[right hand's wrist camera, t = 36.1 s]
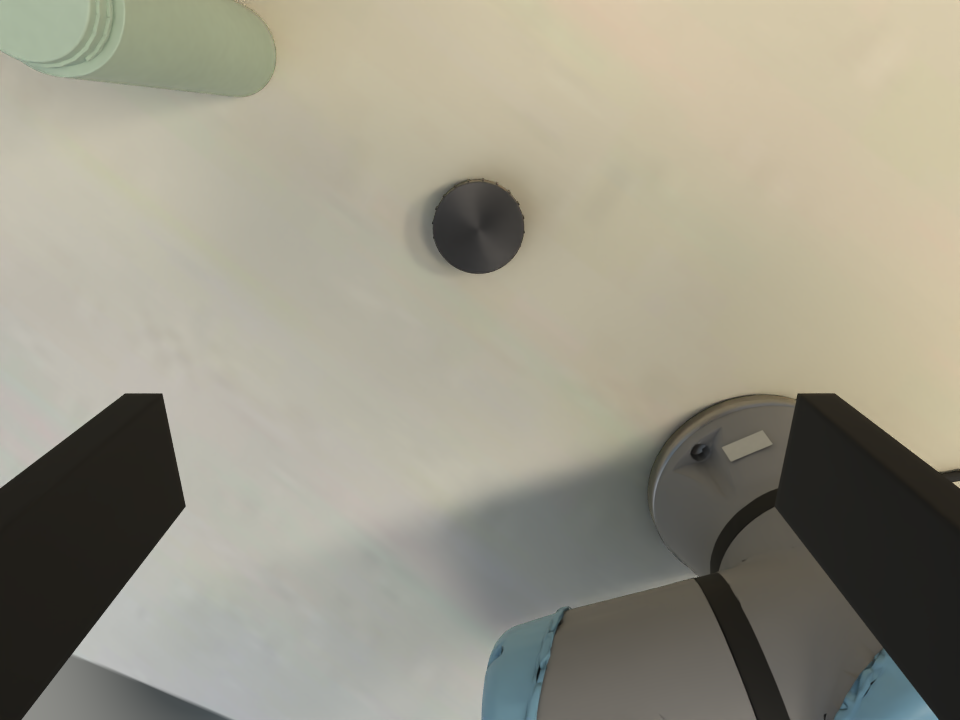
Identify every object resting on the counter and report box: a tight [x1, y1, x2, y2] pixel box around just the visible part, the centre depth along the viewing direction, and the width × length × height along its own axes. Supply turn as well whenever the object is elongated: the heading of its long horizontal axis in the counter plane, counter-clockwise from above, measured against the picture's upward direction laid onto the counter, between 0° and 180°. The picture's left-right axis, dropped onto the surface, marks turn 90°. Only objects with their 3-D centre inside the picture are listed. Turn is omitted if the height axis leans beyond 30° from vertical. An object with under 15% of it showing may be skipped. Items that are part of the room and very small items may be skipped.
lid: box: [432, 178, 525, 274], centre depth 39 cm, size 6×6×2 cm
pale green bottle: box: [0, 0, 276, 97], centre depth 28 cm, size 5×5×18 cm
